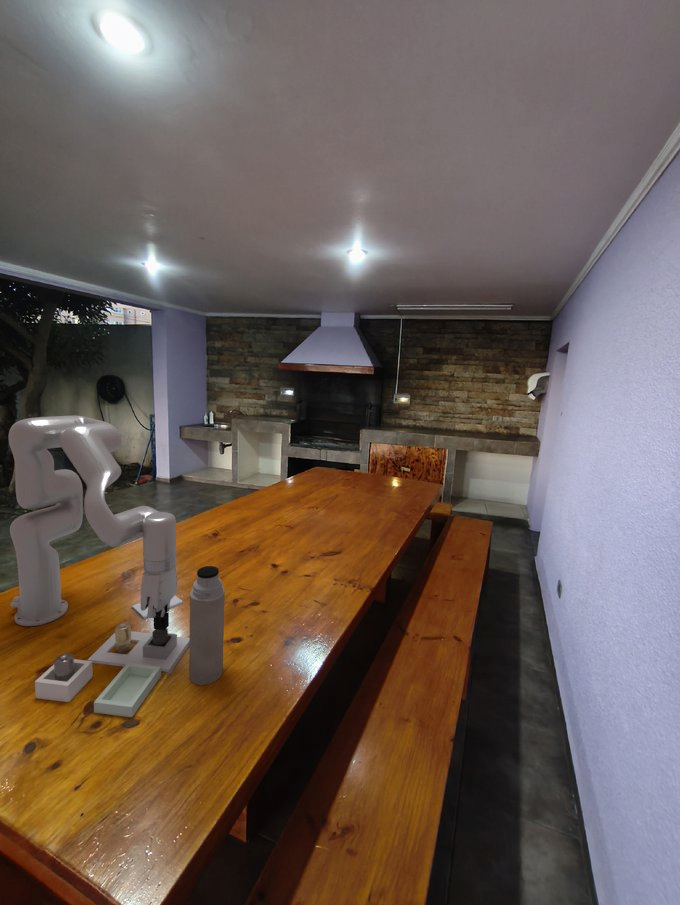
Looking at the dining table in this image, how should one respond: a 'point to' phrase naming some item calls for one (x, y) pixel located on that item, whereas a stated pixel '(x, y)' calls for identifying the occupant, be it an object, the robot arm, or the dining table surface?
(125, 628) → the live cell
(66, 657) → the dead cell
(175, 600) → the external hard drive
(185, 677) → the dining table surface
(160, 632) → the test button
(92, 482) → the robot arm
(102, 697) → the pale green trough
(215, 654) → the thermos bottle
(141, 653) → the checker
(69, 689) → the white open box
